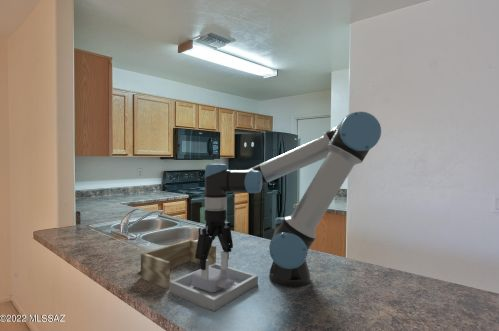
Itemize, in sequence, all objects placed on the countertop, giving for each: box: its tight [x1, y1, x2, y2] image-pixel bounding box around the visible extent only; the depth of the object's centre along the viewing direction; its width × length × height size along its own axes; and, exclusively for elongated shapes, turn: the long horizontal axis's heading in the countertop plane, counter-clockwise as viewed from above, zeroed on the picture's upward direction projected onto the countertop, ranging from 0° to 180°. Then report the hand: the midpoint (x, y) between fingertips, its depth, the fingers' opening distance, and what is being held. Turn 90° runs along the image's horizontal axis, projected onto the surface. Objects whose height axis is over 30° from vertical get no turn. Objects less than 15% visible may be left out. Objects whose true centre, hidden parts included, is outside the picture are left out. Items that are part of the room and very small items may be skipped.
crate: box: [140, 239, 217, 290], centre depth 113 cm, size 15×24×9 cm, turn 144°
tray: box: [168, 262, 259, 313], centre depth 99 cm, size 20×22×4 cm
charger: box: [192, 267, 236, 293], centre depth 99 cm, size 5×9×15 cm
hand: (214, 274), depth 99 cm, fingers closed on charger, 9 cm apart
